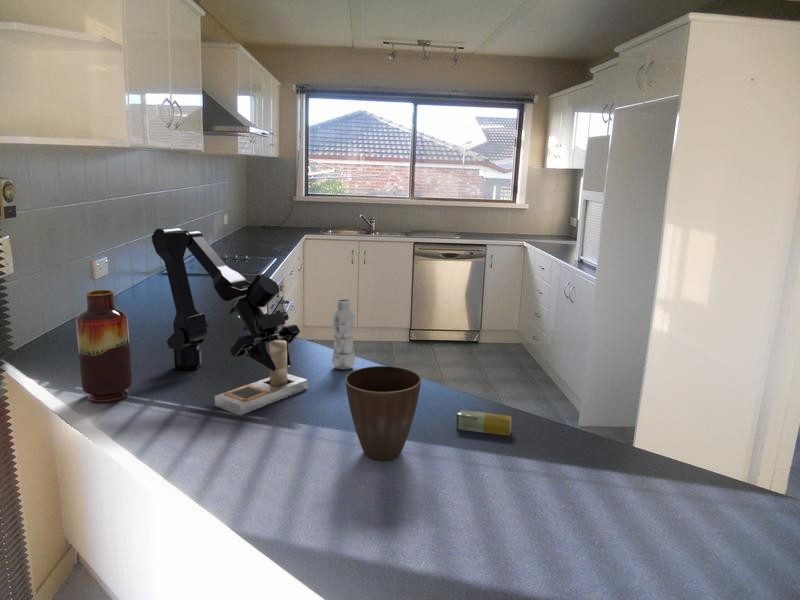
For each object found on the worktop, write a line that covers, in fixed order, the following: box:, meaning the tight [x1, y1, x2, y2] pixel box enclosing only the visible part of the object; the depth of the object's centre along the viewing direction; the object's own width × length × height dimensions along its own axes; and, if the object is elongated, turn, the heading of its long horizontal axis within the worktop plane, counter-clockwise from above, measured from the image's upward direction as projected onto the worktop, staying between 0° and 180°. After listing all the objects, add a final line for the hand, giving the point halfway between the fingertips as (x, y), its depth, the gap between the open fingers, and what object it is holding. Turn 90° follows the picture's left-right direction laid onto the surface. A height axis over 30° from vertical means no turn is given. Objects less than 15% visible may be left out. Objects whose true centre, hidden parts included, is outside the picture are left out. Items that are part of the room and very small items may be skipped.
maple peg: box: [268, 340, 288, 387], centre depth 152 cm, size 4×4×13 cm
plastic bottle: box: [331, 298, 356, 370], centre depth 170 cm, size 6×7×20 cm
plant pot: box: [344, 365, 422, 462], centre depth 119 cm, size 15×15×16 cm
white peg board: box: [214, 373, 309, 416], centre depth 149 cm, size 22×9×3 cm, turn 144°
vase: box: [75, 289, 133, 404], centre depth 144 cm, size 11×11×26 cm
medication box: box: [455, 409, 512, 437], centre depth 133 cm, size 12×3×4 cm, turn 76°
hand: (282, 367), depth 151 cm, fingers closed on maple peg, 4 cm apart
